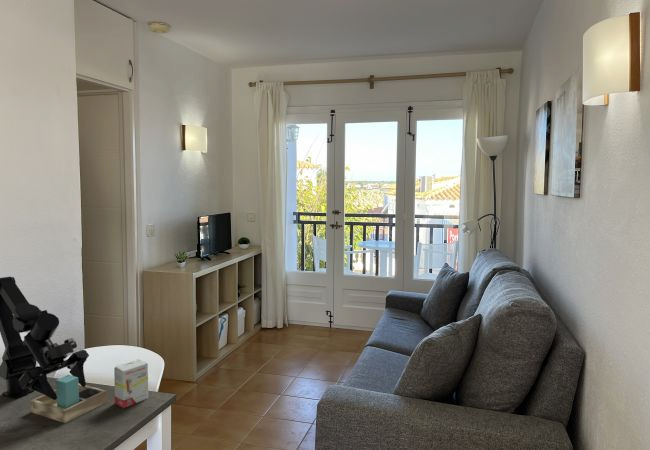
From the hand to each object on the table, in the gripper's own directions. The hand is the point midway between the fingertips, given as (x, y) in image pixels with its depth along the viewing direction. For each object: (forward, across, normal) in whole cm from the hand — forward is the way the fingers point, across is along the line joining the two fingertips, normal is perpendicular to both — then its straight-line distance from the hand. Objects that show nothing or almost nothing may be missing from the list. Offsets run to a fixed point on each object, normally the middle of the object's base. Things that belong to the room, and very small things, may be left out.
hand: (70, 392), depth 139 cm
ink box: (+11, +14, 0) cm, 18 cm away
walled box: (+2, +3, +8) cm, 9 cm away
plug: (+4, 0, +6) cm, 7 cm away
